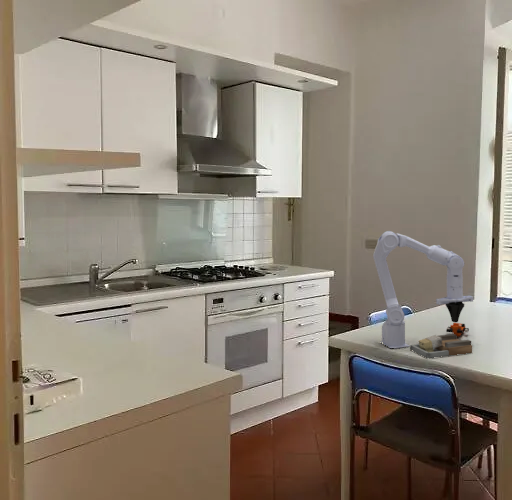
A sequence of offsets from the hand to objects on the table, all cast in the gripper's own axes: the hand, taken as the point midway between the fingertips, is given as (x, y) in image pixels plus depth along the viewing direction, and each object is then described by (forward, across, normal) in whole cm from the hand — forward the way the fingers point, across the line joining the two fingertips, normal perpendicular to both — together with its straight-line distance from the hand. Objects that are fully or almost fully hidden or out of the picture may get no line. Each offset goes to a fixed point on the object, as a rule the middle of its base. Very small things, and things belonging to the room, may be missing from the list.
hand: (454, 321), depth 211 cm
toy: (+10, +10, +13) cm, 19 cm away
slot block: (+9, -5, -4) cm, 11 cm away
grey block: (+7, -12, -5) cm, 14 cm away
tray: (+9, -14, -4) cm, 17 cm away
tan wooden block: (+6, -14, -5) cm, 16 cm away
